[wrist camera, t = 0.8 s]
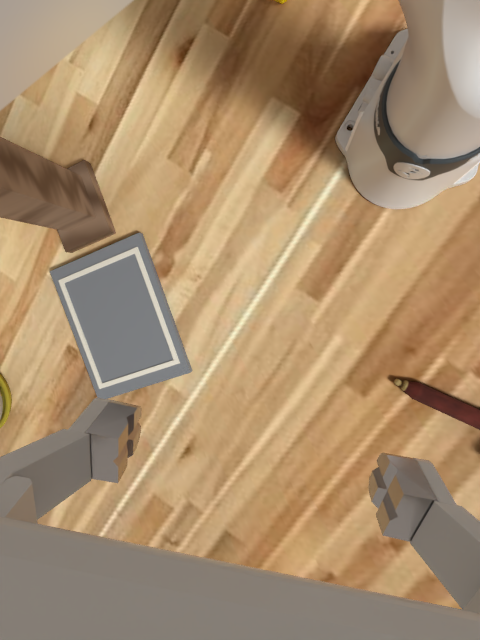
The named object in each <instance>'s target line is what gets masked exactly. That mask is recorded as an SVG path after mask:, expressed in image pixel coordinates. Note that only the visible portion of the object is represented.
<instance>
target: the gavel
mask: <svg viewBox="0 0 480 640" xmlns="http://www.w3.org/2000/svg"><path fill="white" fill-rule="evenodd" d="M394 384H395V385H397V386H400V389H401V390H403V391H404V392H405V393H406V394H408V395H409V396H410V397H411V398H412V399H414V400H417V401H419V402H421V403H423V404H425V405H427V406H430V407H432V408H434V409H436V410H438V411H440V412H442V413H445V414H447V415H449V416H451V417H453V418H455V419H458V420H460V421H462V422H464V423H466V424H468V425H471V426H473V427H475V428H477V429H479V430H480V410H479V409H477V408H475V407H472V406H470V405H468V404H466V403H464V402H461V401H459V400H457V399H455V398H452V397H450V396H448V395H446V394H444V393H441V392H439V391H437V390H435V389H433V388H430V387H428V386H426V385H424V384H421V383H419V382H411V381H407V380H404V381H401V380H400V379H395V380H394Z"/></svg>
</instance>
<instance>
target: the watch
mask: <svg viewBox="0 0 480 640" xmlns="http://www.w3.org/2000/svg"><path fill="white" fill-rule="evenodd" d="M274 1H276V2H279V3H281V4H283V3H284V2H286V1H287V0H274Z"/></svg>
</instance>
